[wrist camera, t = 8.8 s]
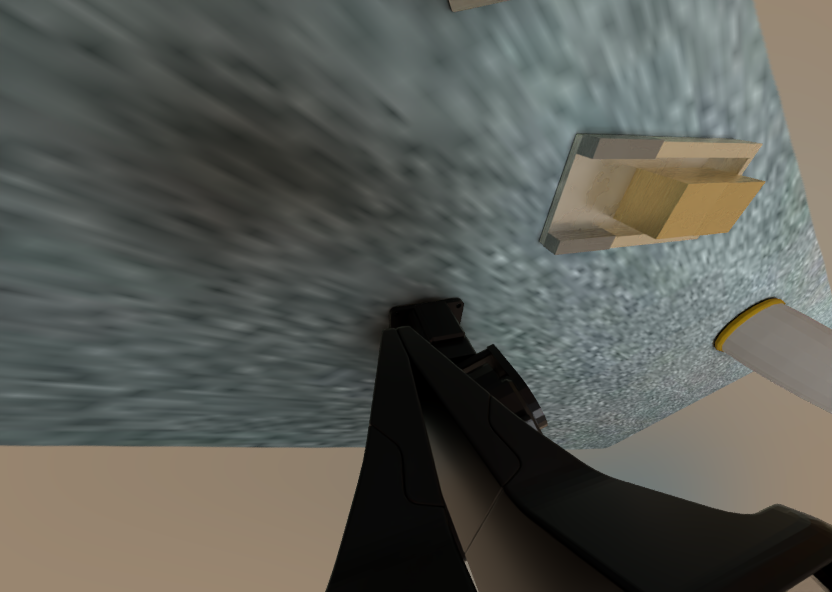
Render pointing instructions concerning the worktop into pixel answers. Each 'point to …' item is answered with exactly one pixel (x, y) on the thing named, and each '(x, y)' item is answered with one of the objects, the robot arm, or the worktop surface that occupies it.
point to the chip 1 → (668, 201)
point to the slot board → (624, 184)
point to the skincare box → (470, 4)
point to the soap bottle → (783, 349)
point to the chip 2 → (727, 200)
